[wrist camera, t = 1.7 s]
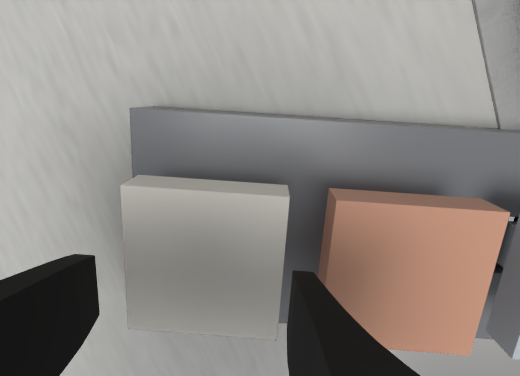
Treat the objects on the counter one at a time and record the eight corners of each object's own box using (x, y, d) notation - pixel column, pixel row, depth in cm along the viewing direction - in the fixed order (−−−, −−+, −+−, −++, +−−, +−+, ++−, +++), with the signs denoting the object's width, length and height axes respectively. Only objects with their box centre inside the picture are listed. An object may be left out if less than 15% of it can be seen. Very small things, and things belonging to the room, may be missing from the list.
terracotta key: (417, 287, 16) (469, 355, 12) (305, 279, 16) (317, 343, 12) (441, 179, 15) (510, 212, 10) (317, 170, 15) (336, 200, 10)
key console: (534, 308, 19) (582, 346, 16) (158, 279, 19) (138, 311, 16) (592, 134, 16) (661, 142, 13) (154, 106, 17) (129, 108, 14)
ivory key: (275, 277, 16) (276, 340, 12) (165, 268, 16) (127, 328, 12) (284, 168, 15) (289, 197, 10) (163, 160, 15) (120, 185, 11)
